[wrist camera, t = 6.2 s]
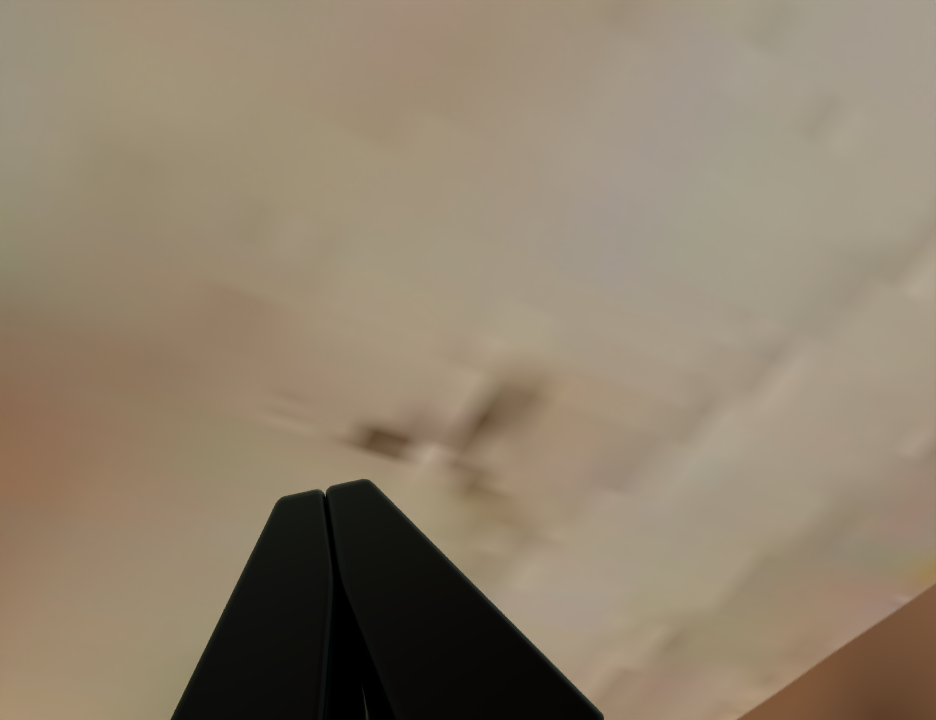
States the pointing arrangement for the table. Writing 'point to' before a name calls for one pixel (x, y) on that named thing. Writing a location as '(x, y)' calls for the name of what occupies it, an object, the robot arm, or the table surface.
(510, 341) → the table surface
